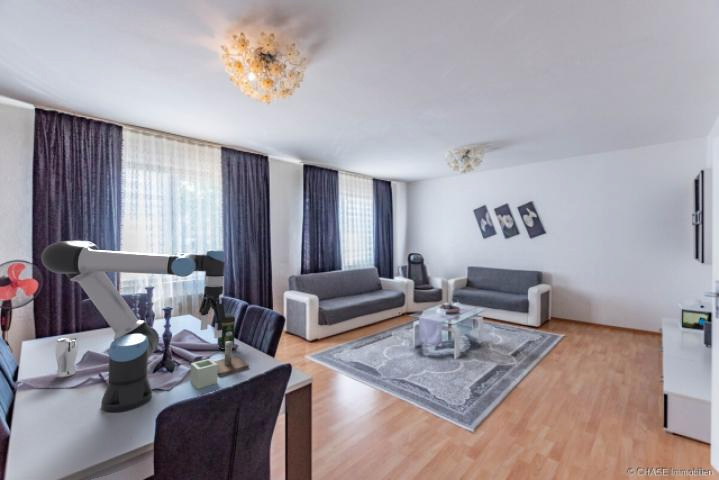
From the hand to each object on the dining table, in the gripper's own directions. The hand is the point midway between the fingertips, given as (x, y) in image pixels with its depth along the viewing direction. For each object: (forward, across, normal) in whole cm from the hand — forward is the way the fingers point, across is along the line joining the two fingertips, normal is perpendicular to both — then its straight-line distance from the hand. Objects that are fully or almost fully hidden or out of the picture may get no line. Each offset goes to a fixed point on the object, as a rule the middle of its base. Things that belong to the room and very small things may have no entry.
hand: (210, 333), depth 139 cm
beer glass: (+21, +42, +41) cm, 63 cm away
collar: (+20, -3, +3) cm, 20 cm away
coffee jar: (+20, +28, -22) cm, 41 cm away
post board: (+19, +4, -11) cm, 23 cm away
